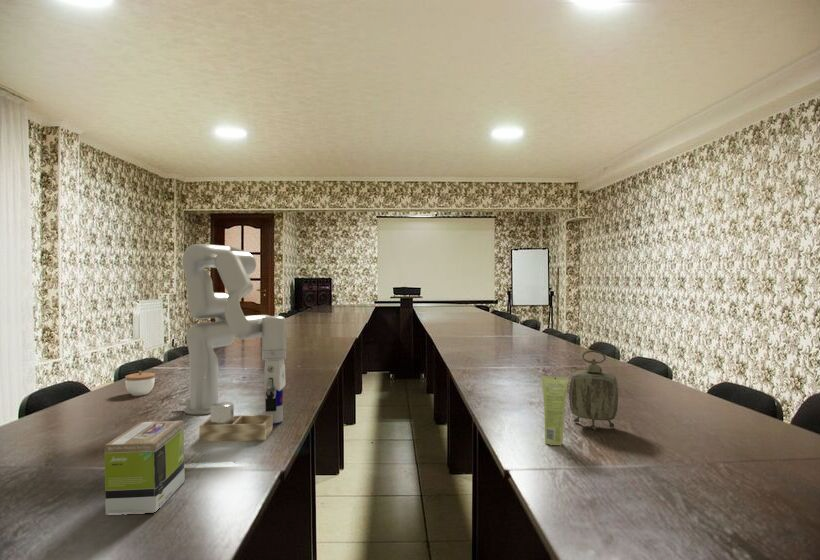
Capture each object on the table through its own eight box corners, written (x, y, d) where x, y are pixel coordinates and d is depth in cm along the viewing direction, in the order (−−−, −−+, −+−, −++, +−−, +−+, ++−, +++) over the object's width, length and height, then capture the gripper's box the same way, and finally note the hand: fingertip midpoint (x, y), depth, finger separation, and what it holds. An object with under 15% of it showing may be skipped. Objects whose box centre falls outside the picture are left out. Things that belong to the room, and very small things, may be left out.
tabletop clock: (618, 427, 149) (618, 350, 149) (617, 435, 141) (618, 354, 141) (571, 421, 155) (571, 347, 155) (568, 429, 147) (568, 350, 147)
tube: (555, 439, 137) (555, 373, 137) (568, 444, 133) (568, 377, 133) (540, 442, 135) (541, 375, 135) (553, 447, 130) (553, 379, 130)
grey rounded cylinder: (207, 439, 133) (207, 408, 133) (214, 432, 139) (215, 402, 139) (229, 438, 134) (229, 407, 134) (236, 431, 140) (236, 402, 140)
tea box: (140, 483, 106) (141, 420, 106) (185, 482, 107) (186, 419, 107) (103, 517, 91) (103, 443, 91) (155, 515, 92) (155, 441, 92)
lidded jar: (147, 389, 197) (147, 367, 197) (159, 393, 191) (160, 370, 191) (120, 394, 188) (120, 371, 188) (132, 398, 182) (132, 374, 182)
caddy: (199, 444, 131) (199, 425, 131) (211, 433, 141) (211, 415, 141) (264, 443, 133) (265, 424, 133) (272, 432, 142) (272, 414, 142)
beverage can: (277, 428, 146) (277, 381, 146) (261, 427, 147) (261, 380, 147) (285, 423, 152) (285, 377, 152) (270, 422, 153) (270, 377, 153)
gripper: (280, 358, 141) (280, 414, 141) (290, 350, 158) (291, 400, 158) (255, 358, 140) (255, 415, 140) (268, 350, 158) (268, 400, 158)
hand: (274, 407), depth 149 cm, fingers open, 9 cm apart
